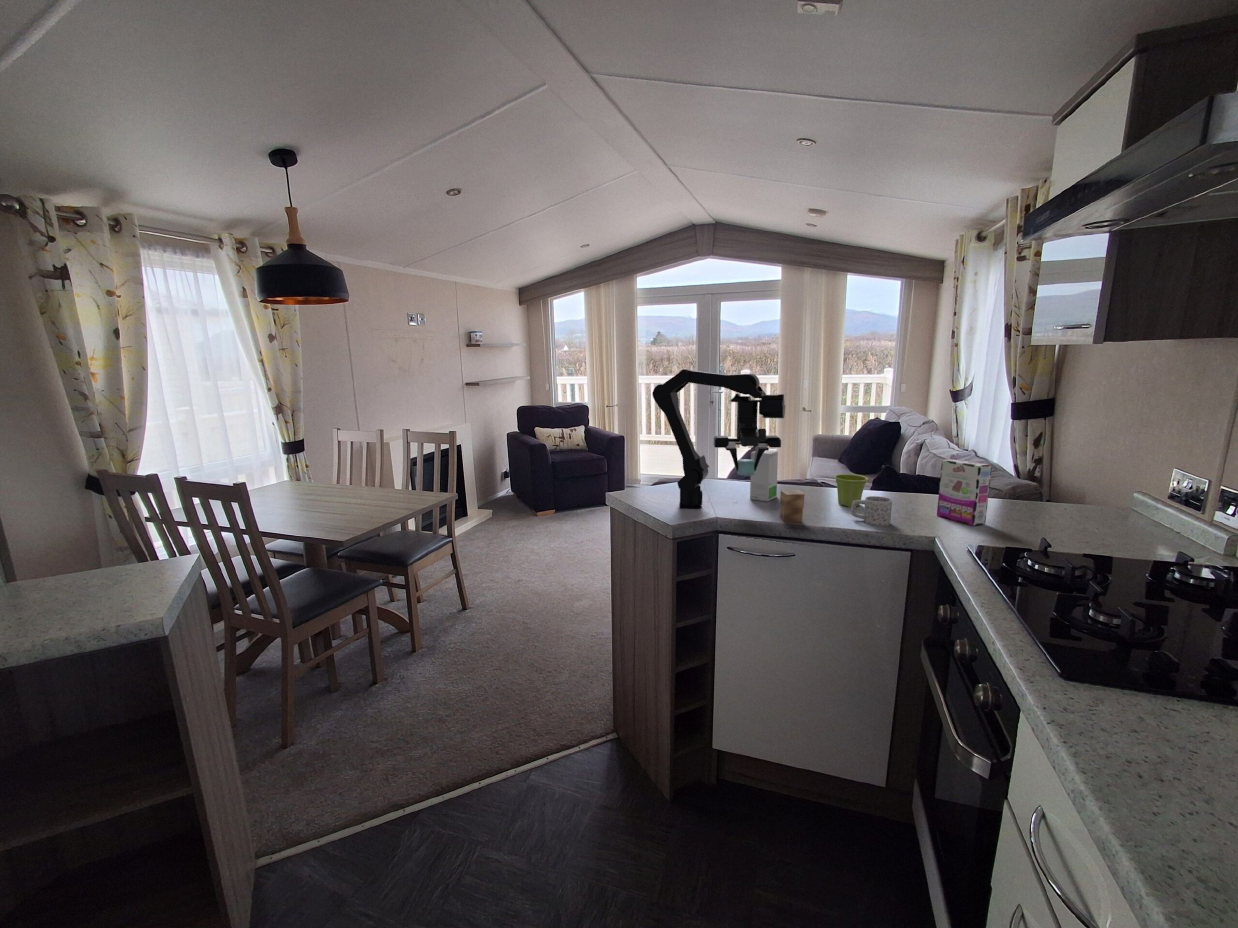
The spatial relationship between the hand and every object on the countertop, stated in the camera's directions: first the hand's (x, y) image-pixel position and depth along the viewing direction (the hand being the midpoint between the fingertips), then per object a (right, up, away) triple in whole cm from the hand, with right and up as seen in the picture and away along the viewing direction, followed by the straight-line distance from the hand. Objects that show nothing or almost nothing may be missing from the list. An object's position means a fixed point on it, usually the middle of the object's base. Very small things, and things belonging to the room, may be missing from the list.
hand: (745, 470), depth 156 cm
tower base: (+11, -14, -7) cm, 19 cm away
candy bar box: (+57, -14, -9) cm, 60 cm away
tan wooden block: (+11, -10, -7) cm, 17 cm away
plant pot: (+34, -11, +8) cm, 36 cm away
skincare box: (+10, -9, +17) cm, 22 cm away
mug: (+32, -14, -10) cm, 36 cm away
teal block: (0, -1, 0) cm, 1 cm away
